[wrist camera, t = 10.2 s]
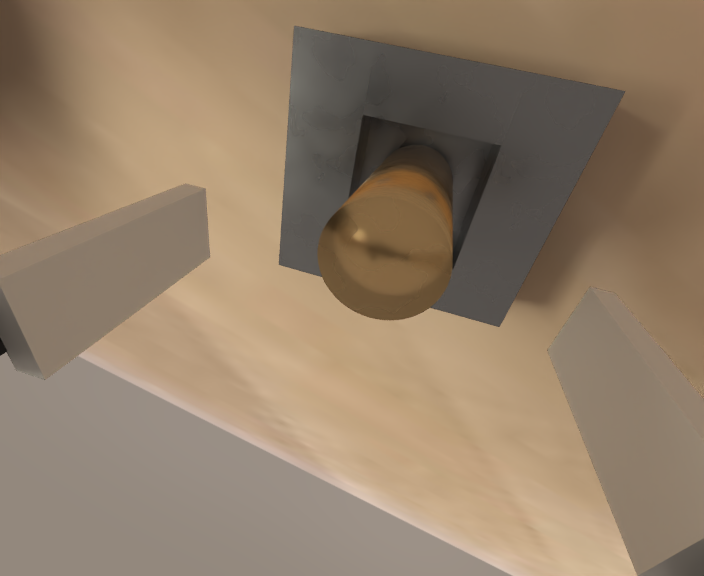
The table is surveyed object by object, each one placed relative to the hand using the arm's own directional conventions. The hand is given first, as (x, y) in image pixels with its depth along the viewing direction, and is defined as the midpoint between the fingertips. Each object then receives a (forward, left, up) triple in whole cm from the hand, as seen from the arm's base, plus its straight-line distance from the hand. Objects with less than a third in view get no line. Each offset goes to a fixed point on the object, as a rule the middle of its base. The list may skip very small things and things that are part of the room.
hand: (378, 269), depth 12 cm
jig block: (0, 0, -14) cm, 14 cm away
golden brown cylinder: (0, 0, -13) cm, 13 cm away
